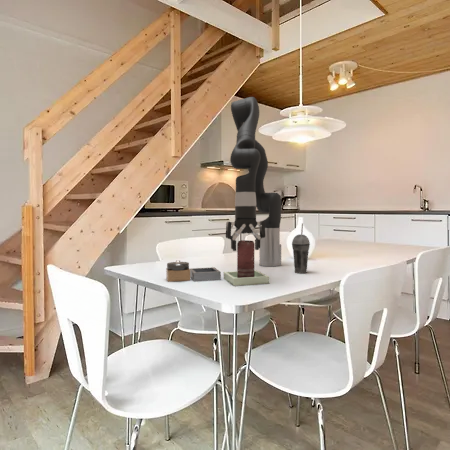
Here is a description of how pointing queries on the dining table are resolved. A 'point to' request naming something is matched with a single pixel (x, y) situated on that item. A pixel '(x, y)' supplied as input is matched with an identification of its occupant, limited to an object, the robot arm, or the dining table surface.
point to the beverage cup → (300, 252)
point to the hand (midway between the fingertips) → (245, 250)
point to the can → (245, 259)
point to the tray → (246, 279)
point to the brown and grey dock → (190, 272)
